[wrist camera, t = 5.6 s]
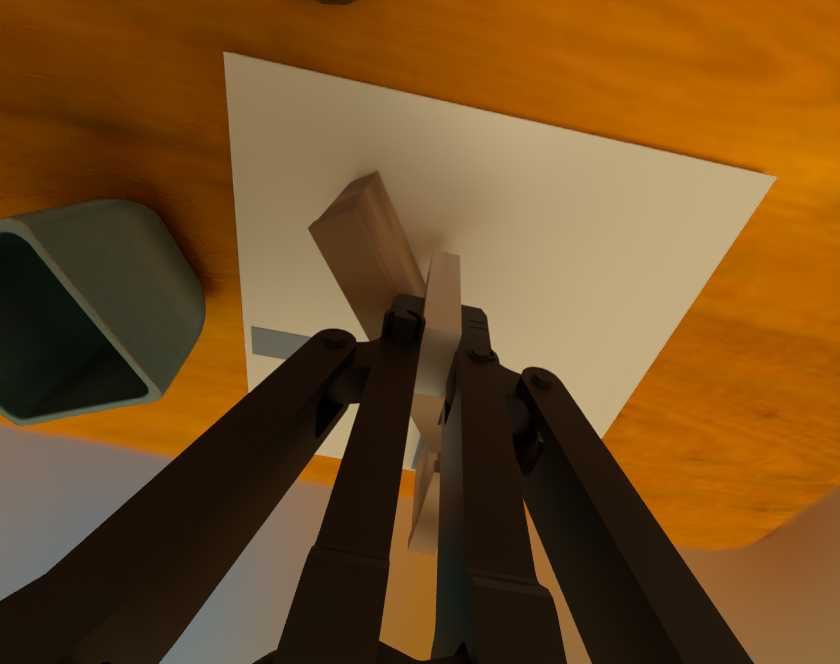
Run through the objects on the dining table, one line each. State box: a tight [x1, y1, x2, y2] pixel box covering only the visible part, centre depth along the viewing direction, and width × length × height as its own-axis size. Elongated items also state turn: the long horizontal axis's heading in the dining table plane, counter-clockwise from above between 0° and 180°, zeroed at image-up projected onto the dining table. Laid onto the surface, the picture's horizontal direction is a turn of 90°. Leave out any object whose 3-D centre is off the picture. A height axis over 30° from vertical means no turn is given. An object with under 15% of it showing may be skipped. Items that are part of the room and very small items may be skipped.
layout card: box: [223, 52, 777, 471], centre depth 25 cm, size 26×26×1 cm
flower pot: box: [0, 199, 205, 426], centre depth 20 cm, size 9×9×9 cm
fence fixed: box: [408, 441, 441, 555], centre depth 25 cm, size 11×2×9 cm, turn 169°
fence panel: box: [308, 171, 446, 454], centre depth 19 cm, size 12×2×7 cm, turn 21°
